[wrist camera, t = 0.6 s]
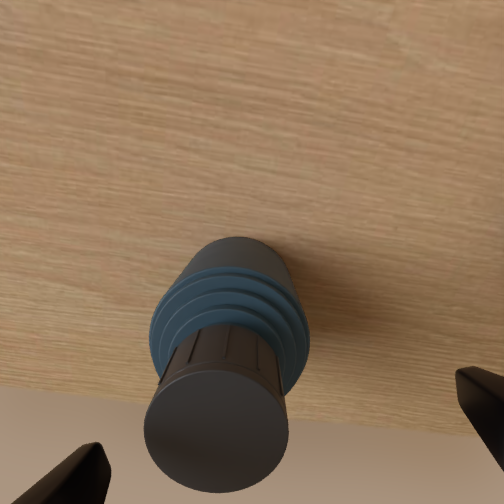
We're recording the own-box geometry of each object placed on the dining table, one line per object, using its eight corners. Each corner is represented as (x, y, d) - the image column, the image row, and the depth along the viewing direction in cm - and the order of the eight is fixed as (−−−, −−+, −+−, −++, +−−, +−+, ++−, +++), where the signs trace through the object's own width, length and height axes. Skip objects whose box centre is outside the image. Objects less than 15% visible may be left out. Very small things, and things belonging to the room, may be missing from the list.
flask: (298, 331, 21) (348, 501, 10) (195, 346, 21) (131, 528, 10) (283, 228, 20) (322, 292, 8) (172, 246, 20) (69, 331, 9)
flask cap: (287, 414, 12) (297, 484, 9) (182, 429, 12) (161, 501, 9) (271, 315, 11) (277, 359, 8) (158, 332, 11) (127, 381, 8)
